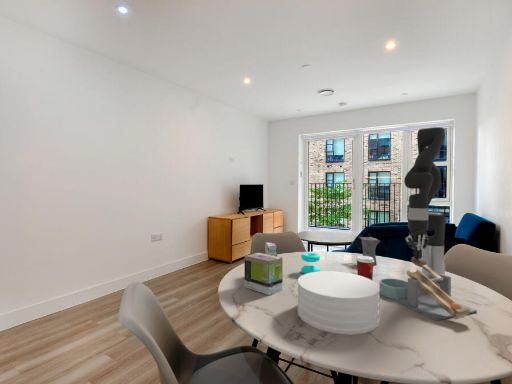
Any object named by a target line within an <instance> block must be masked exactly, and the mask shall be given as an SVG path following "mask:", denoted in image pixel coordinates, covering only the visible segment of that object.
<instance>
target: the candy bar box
mask: <svg viewBox="0 0 512 384" xmlns="http://www.w3.org/2000/svg"><path fill="white" fill-rule="evenodd" d="M264 247H265V249H264V251H265V252H264V254H268V255H273V256H278V246H277V245H276V243H275V242H271V241H269V242H265V245H264Z"/></svg>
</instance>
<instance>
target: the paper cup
mask: <svg viewBox="0 0 512 384" xmlns="http://www.w3.org/2000/svg"><path fill="white" fill-rule="evenodd" d="M355 260H356V267H357V269H356V270H357V272H356V273H357V275H359V276H363V277H365V278H368V279H370V280H372V281H373V278H374V277H373V275H374V266H373V263H374V259H373V258H372V257H369V256H362V255H358V256H356V259H355Z"/></svg>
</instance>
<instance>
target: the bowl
mask: <svg viewBox="0 0 512 384" xmlns="http://www.w3.org/2000/svg"><path fill="white" fill-rule="evenodd" d="M378 286H379V288H380V293H379V294H381V295H382V296H384V297H387V298H390V299H395V300H397V299H402V298H407V296H408V281H406V280H403V279H398V278H390V277H389V278H388V277H386V278H382V279H380V280H379V284H378Z"/></svg>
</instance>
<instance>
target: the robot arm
mask: <svg viewBox="0 0 512 384" xmlns="http://www.w3.org/2000/svg"><path fill="white" fill-rule="evenodd" d="M445 138H446V133H445V130H444V127H442V126H438V125H437V126H431V127H425V128H424V127H423V128H420V129H418V131H417V134H416V140H417V142H416V143H417V151H418V155H417V156H416V159H415V161H414V164H413V166H412V167H411V168H410V170H408V172H407V173H406V175H405V177H404V181H403V183H404V186H405V187H406V188H407V189H411V190H417V189H418V191H419V192H418V193H414V194H410V195H409V197H408V213H407V214H408V215H407V228H408V230H409V232H408V236H405V237H404V241H405V242H406V244H407V245H408V248H409V249H412V250H413V257H414V258H416V259H421V258H422V259H423V260H425V261H426V265H427V266H428V267H429V268H431V269H432V270H433V271H434V272H436V273H437V274H438V275H439V276H440V274H444V275H446V260H445V236H446V235H445V233H446V216H445V215H444V213H441V212H433V211H432V212H429V207H430V204H431V202H432V200H433V198H434V197H435V196H436V194H437V193H438V192H439V190H440V189H441V185H442V174H441V171H440V169H439V168H438V166H437V165H436V163H434V161H435V158H436V157H437V155H438V153H439V151H440V150H441V148H442V147H443V144H444V142H445ZM427 231H430V232H431V231H432V232H434V234H432V235H430V236H429V235H428V232H427ZM421 272H422V273H423V274H424V275H425V276H427V277H428V278H429V279H435V278H434V277H433V276H432V275H430V274H429V273H428V272H427V271H426V270H425V269H423V268H422V267H421Z"/></svg>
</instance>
